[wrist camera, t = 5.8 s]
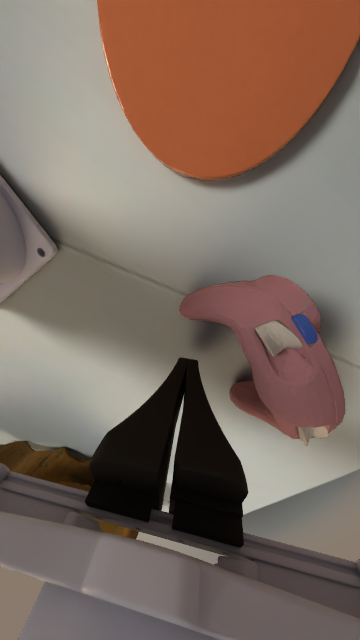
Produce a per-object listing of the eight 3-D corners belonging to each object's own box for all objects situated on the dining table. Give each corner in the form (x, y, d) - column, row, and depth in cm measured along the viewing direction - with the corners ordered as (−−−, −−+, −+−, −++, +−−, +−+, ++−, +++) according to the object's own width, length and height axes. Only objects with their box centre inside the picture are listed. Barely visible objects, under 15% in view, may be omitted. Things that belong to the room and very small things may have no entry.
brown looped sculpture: (-57, 461, 13) (131, 621, 16) (61, 376, 26) (154, 473, 29) (-181, 563, 16) (1, 687, 18) (-17, 439, 28) (76, 523, 31)
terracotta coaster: (180, 220, 9) (178, 220, 9) (55, -27, 6) (41, -49, 6) (398, 70, 6) (416, 55, 6) (367, -623, 3) (401, -808, 2)
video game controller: (271, 367, 15) (378, 443, 8) (228, 397, 15) (304, 500, 8) (228, 262, 11) (354, 252, 5) (170, 299, 11) (220, 339, 5)
